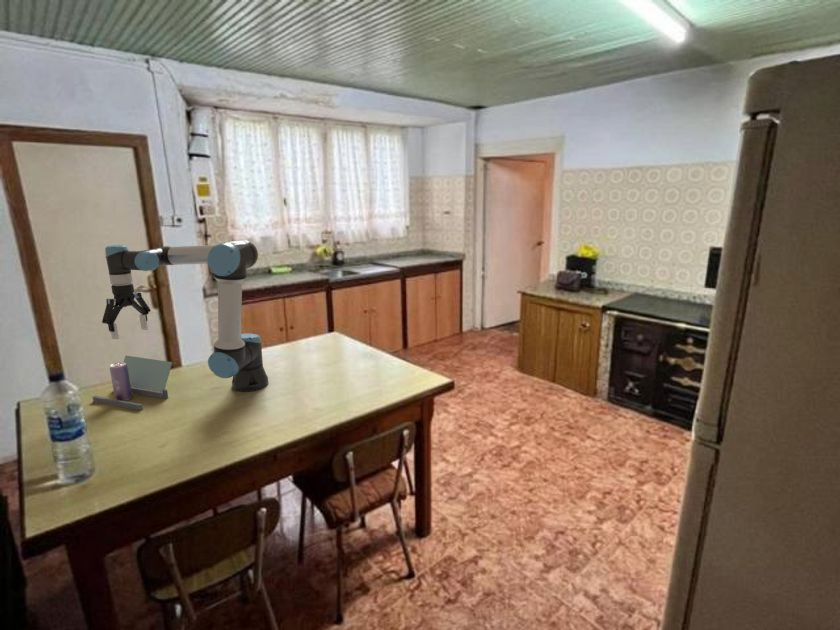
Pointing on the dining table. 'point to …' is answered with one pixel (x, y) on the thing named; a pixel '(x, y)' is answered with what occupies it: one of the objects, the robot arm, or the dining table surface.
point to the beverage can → (120, 381)
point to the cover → (148, 373)
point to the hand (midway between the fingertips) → (130, 334)
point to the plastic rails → (130, 404)
